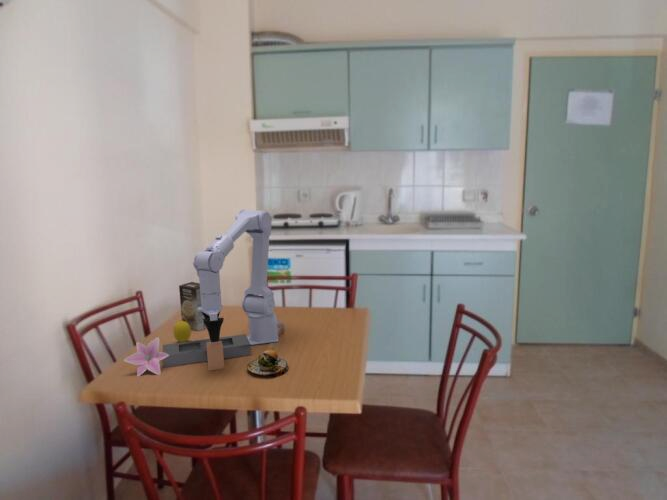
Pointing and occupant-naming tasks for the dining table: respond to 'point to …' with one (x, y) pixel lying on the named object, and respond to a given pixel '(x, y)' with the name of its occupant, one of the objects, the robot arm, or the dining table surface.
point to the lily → (147, 357)
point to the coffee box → (191, 305)
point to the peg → (215, 355)
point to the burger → (268, 364)
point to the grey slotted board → (204, 350)
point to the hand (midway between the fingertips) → (213, 337)
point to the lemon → (182, 331)
